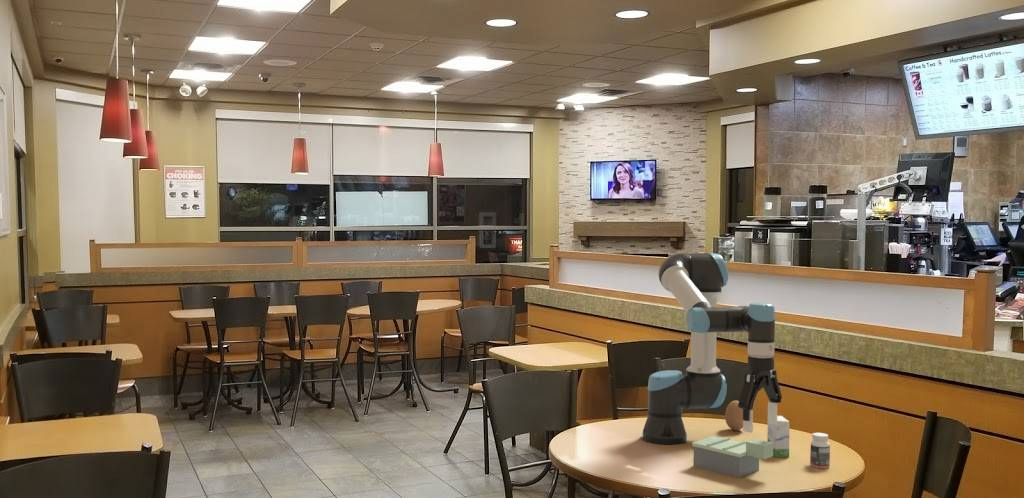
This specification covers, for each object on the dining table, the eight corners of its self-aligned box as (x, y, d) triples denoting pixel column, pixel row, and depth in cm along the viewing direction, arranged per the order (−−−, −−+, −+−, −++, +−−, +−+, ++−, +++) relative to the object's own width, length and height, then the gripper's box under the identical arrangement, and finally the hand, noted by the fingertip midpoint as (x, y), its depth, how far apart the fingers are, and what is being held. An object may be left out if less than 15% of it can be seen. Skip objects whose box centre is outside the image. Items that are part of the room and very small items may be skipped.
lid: (692, 445, 261) (692, 433, 260) (713, 439, 269) (713, 426, 268) (758, 461, 244) (758, 447, 244) (778, 454, 252) (779, 440, 252)
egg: (742, 427, 312) (742, 398, 311) (749, 432, 304) (749, 402, 304) (722, 427, 311) (722, 398, 311) (728, 433, 304) (728, 402, 303)
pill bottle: (807, 463, 267) (807, 432, 266) (824, 463, 267) (825, 431, 267) (815, 468, 261) (815, 436, 261) (832, 468, 262) (833, 436, 261)
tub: (693, 468, 261) (693, 445, 261) (713, 461, 268) (714, 439, 268) (739, 480, 249) (739, 456, 249) (758, 472, 257) (759, 449, 256)
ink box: (789, 457, 274) (790, 421, 273) (774, 457, 274) (775, 421, 273) (781, 450, 282) (781, 414, 282) (766, 449, 282) (767, 414, 282)
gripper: (749, 362, 238) (748, 437, 238) (794, 353, 255) (793, 423, 255) (726, 358, 243) (725, 432, 244) (771, 350, 260) (770, 419, 261)
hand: (760, 427), depth 250 cm, fingers open, 13 cm apart
